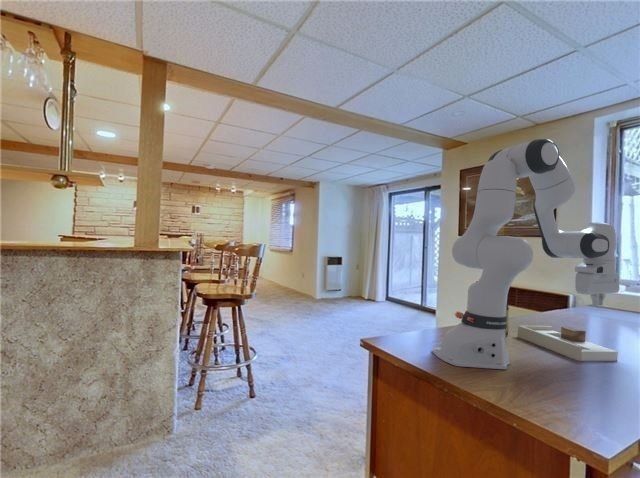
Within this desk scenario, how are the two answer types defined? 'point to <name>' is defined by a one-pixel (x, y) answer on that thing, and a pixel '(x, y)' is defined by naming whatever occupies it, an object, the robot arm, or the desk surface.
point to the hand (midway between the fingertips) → (597, 305)
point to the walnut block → (573, 334)
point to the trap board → (566, 344)
